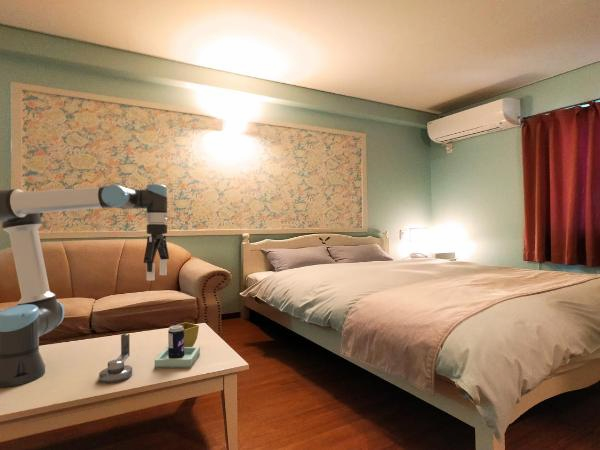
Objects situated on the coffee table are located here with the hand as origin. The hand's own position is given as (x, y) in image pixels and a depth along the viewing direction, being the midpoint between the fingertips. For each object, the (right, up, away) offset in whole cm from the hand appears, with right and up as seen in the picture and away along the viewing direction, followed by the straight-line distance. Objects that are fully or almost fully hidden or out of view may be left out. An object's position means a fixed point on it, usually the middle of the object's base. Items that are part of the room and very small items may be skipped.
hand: (157, 277), depth 138 cm
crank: (-7, -29, -14) cm, 33 cm away
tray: (+10, -31, -6) cm, 33 cm away
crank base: (-6, -31, -19) cm, 37 cm away
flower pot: (+8, -31, +9) cm, 33 cm away
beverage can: (+10, -30, -6) cm, 32 cm away
